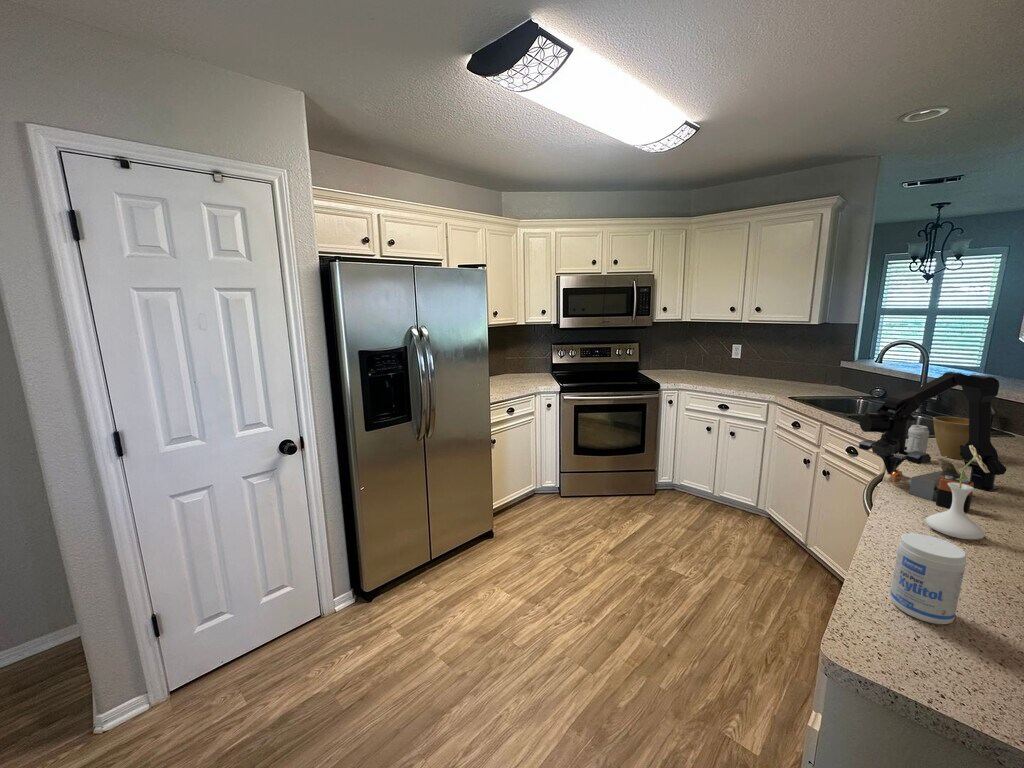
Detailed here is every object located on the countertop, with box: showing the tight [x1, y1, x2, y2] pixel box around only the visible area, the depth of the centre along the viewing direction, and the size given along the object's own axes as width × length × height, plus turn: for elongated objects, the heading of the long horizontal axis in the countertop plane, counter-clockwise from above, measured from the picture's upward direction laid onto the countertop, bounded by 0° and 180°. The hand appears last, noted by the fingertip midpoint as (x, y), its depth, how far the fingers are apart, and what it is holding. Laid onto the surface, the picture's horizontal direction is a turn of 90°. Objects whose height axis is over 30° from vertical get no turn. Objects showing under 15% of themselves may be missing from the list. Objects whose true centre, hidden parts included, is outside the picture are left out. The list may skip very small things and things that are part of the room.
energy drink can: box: [905, 424, 930, 463], centre depth 169 cm, size 6×6×15 cm
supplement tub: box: [889, 532, 967, 625], centre depth 84 cm, size 10×10×15 cm
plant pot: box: [932, 416, 969, 460], centre depth 174 cm, size 15×15×16 cm
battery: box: [935, 475, 974, 514], centre depth 129 cm, size 4×7×10 cm, turn 33°
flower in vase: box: [924, 445, 990, 540], centre depth 113 cm, size 13×11×25 cm
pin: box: [889, 469, 939, 492], centre depth 139 cm, size 4×14×4 cm, turn 19°
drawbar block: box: [909, 470, 963, 502], centre depth 139 cm, size 16×6×6 cm, turn 109°
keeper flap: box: [936, 457, 961, 476], centre depth 140 cm, size 7×4×1 cm
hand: (889, 474), depth 147 cm, fingers closed
